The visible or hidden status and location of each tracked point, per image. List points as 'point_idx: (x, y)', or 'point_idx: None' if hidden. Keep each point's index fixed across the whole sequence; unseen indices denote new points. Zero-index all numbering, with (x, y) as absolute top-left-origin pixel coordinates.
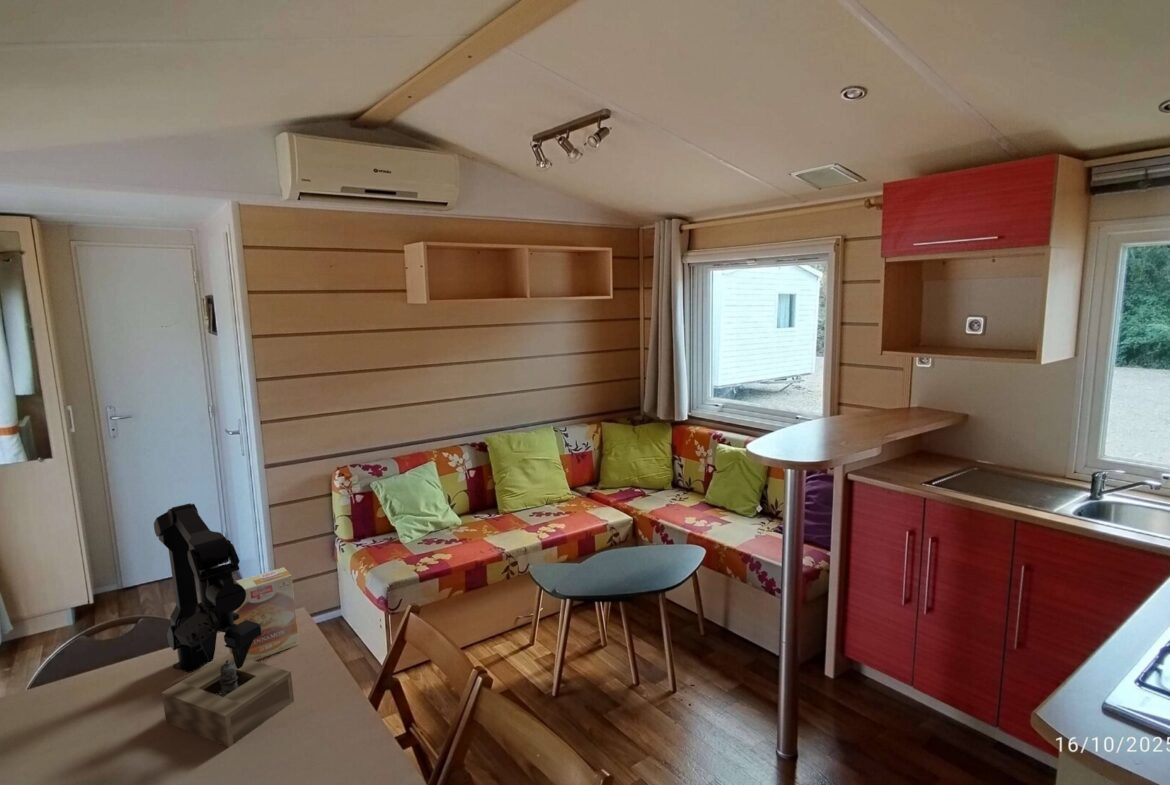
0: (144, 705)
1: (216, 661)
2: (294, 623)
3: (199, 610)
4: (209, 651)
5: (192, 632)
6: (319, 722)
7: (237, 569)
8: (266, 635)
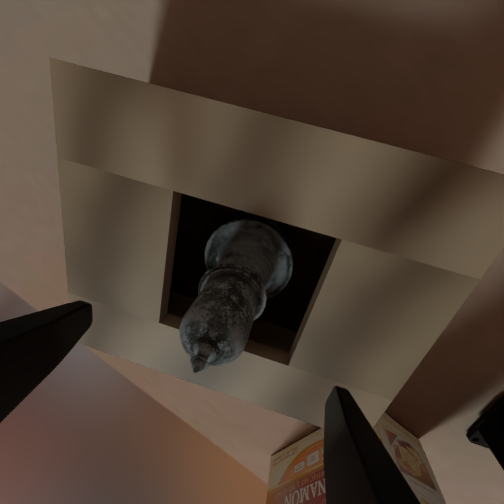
0: None
1: (385, 403)
2: None
3: None
4: (343, 450)
5: None
6: (25, 223)
7: None
8: (315, 499)
